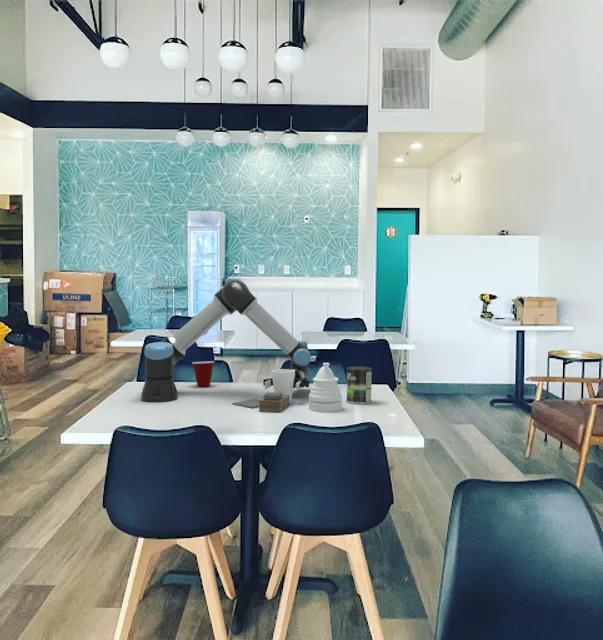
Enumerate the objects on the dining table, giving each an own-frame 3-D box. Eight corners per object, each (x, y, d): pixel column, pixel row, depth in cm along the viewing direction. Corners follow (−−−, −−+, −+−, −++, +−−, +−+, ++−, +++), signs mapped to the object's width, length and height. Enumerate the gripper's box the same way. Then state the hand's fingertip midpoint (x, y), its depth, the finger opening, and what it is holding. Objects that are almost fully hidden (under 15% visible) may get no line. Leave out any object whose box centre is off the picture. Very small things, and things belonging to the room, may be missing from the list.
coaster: (252, 408, 239) (252, 406, 239) (232, 404, 247) (232, 402, 247) (274, 404, 247) (274, 402, 247) (254, 400, 256) (254, 398, 255)
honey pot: (344, 411, 232) (345, 364, 232) (311, 412, 231) (311, 365, 230) (338, 405, 245) (338, 360, 244) (306, 406, 243) (306, 360, 242)
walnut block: (279, 412, 231) (279, 396, 230) (259, 411, 232) (259, 395, 232) (289, 405, 244) (289, 390, 244) (269, 404, 246) (269, 389, 246)
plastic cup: (207, 383, 300) (207, 359, 299) (219, 386, 292) (218, 361, 291) (187, 386, 293) (187, 361, 292) (199, 388, 285) (198, 363, 284)
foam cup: (267, 401, 252) (267, 370, 251) (285, 399, 257) (285, 368, 257) (280, 405, 244) (280, 373, 244) (299, 402, 250) (299, 371, 249)
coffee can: (355, 405, 245) (355, 370, 244) (341, 401, 254) (341, 367, 253) (376, 402, 250) (376, 368, 249) (362, 398, 259) (362, 365, 258)
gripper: (321, 388, 265) (310, 396, 245) (267, 386, 271) (252, 394, 250) (321, 370, 265) (310, 378, 244) (267, 369, 271) (252, 376, 250)
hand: (281, 386), depth 247 cm, fingers open, 12 cm apart
